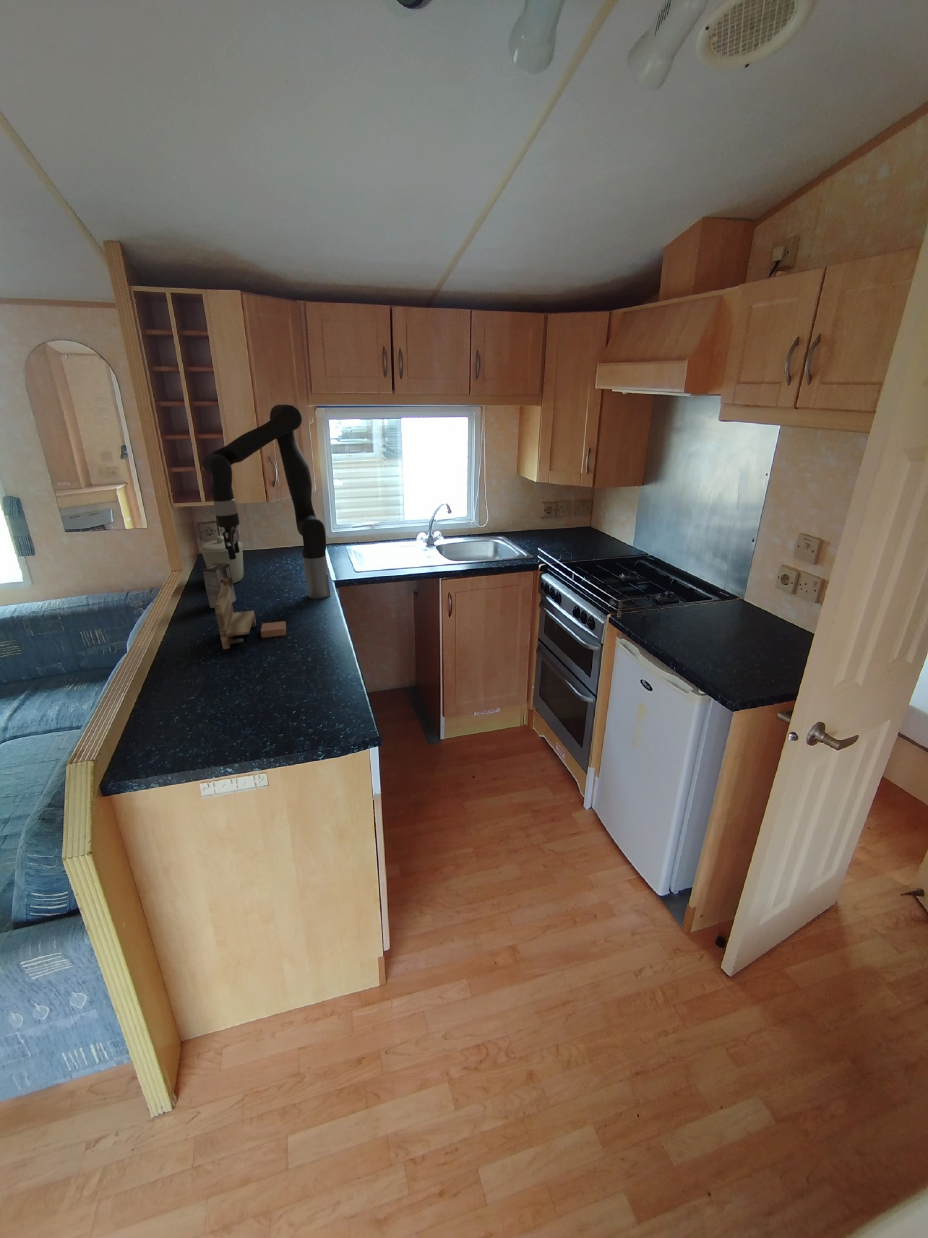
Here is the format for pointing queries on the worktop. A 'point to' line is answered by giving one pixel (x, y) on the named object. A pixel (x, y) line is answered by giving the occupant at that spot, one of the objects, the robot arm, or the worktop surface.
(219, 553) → the canister
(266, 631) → the tan cardboard carton
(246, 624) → the nook
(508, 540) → the worktop surface
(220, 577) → the coffee box
